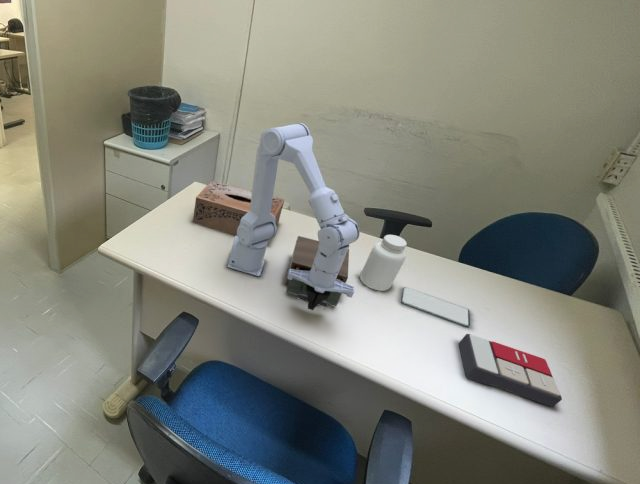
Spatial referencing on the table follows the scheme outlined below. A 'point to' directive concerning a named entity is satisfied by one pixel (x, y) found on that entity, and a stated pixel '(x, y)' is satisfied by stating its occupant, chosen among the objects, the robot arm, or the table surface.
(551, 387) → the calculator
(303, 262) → the cabinet
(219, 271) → the table surface
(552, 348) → the table surface
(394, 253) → the pill bottle
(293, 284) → the drawer
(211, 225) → the tissue box cover
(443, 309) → the smartphone
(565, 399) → the table surface
